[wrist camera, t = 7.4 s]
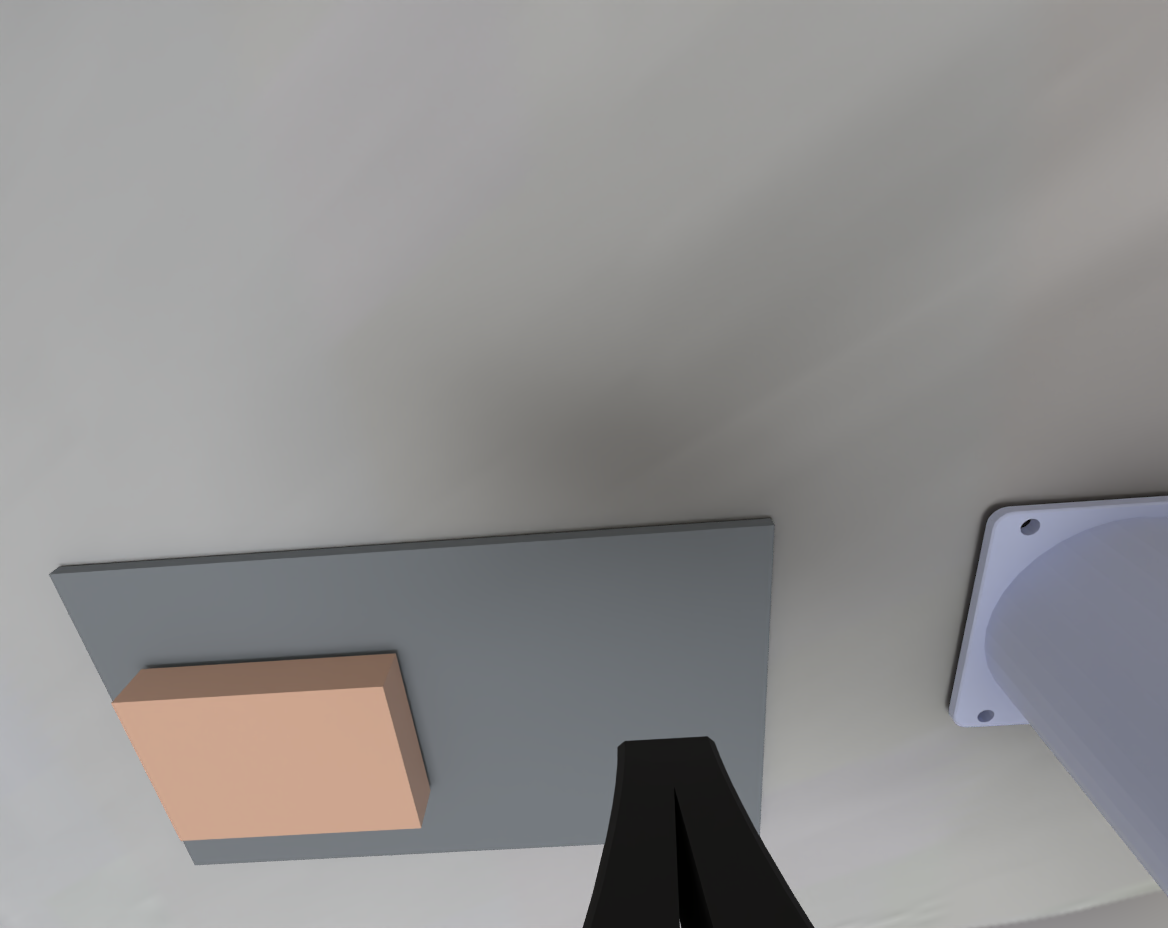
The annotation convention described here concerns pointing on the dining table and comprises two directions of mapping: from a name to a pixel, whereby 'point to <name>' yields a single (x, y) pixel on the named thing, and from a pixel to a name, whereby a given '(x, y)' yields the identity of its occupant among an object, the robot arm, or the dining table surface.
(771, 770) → the dining table surface
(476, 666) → the mat
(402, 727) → the tile
